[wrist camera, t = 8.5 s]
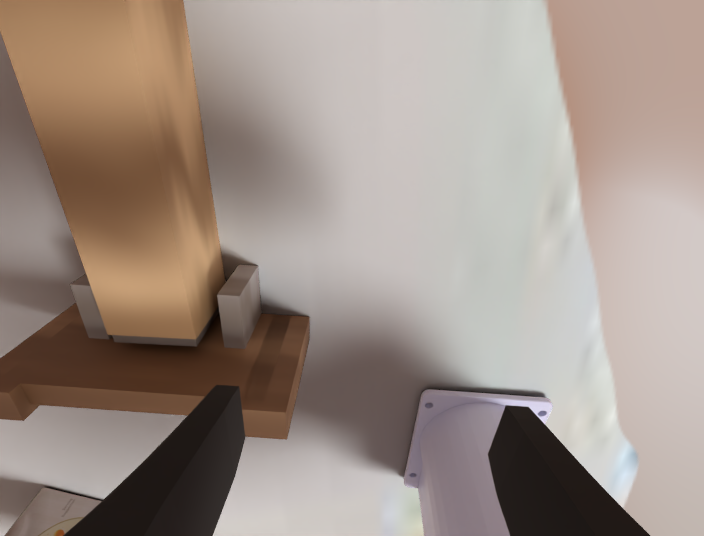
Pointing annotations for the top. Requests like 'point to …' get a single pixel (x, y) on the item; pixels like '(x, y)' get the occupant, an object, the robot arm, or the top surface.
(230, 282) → the wooden base
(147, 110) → the tan wooden bar
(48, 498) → the coffee box
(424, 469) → the robot arm
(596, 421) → the top surface
